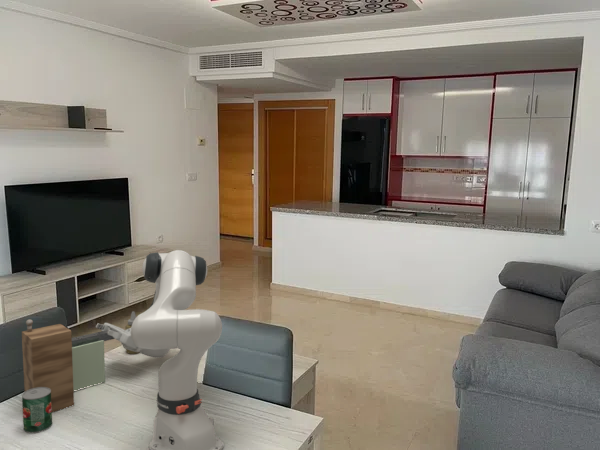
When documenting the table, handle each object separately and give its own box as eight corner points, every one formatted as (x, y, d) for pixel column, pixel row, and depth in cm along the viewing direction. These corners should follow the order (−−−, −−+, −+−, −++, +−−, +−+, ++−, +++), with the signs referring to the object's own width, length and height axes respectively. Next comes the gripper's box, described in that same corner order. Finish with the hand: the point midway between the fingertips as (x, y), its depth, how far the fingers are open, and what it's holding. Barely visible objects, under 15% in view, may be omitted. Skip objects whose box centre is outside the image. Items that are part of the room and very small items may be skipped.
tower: (74, 405, 162) (70, 319, 159) (35, 417, 154) (31, 327, 150) (63, 395, 169) (59, 312, 166) (25, 406, 161) (21, 319, 157)
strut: (114, 338, 184) (114, 331, 183) (59, 352, 169) (58, 343, 169) (111, 336, 186) (110, 329, 185) (56, 349, 171) (55, 341, 171)
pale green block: (105, 382, 180) (103, 340, 178) (63, 395, 169) (61, 351, 167) (96, 375, 185) (94, 335, 184) (54, 387, 175) (53, 344, 173)
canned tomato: (57, 424, 150) (56, 391, 149) (32, 436, 143) (30, 401, 142) (43, 417, 154) (41, 384, 153) (18, 428, 148) (16, 394, 146)
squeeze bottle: (140, 355, 206) (139, 314, 204) (121, 355, 206) (120, 314, 204) (146, 348, 214) (145, 309, 212) (128, 348, 214) (127, 308, 212)
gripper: (124, 325, 199) (94, 314, 189) (149, 337, 184) (118, 327, 175) (117, 339, 197) (87, 329, 188) (141, 353, 183) (110, 343, 174)
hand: (102, 328), depth 181 cm, fingers open, 8 cm apart
